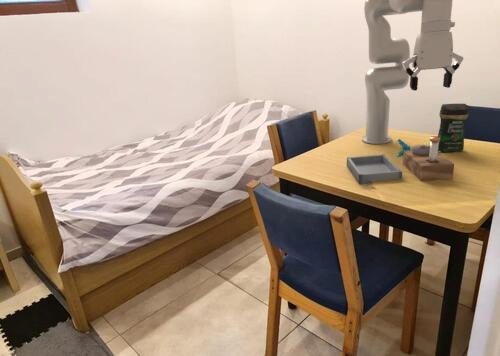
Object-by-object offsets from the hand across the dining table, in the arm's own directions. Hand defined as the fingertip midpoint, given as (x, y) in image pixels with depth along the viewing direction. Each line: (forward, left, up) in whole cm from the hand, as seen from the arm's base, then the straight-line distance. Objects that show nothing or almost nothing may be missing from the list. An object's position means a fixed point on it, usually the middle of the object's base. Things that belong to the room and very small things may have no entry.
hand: (430, 88), depth 111 cm
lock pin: (0, +3, -29) cm, 29 cm away
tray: (-8, -14, -30) cm, 34 cm away
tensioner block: (-4, +3, -30) cm, 30 cm away
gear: (-21, +3, -30) cm, 37 cm away
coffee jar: (-25, +21, -30) cm, 44 cm away
